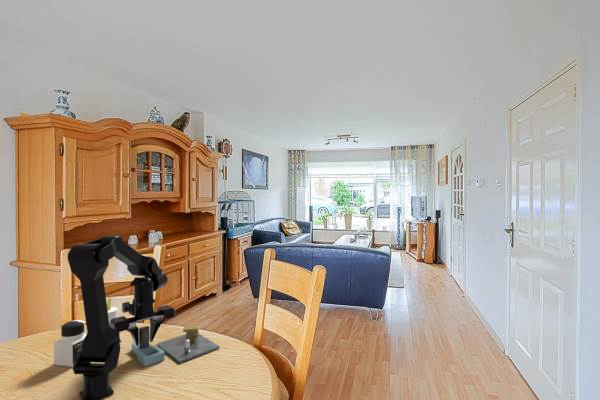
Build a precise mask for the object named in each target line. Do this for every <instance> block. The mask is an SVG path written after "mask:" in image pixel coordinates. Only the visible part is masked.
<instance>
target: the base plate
mask: <svg viewBox="0 0 600 400" xmlns="http://www.w3.org/2000/svg"><path fill="white" fill-rule="evenodd" d="M199 329H200V324H199V322H187V323H186V325H184V327H183V328H182V332H183V333H184V334H183V335H179V336H175V337H173V338H170V339H166V340H164V341H160V342H158V343H156V346H158V347H159V348H160V349H162V350H163V351H164V352H165V355H168V357H170V358H171V359H172V360H174V361H175V362H177V363H178V364H181V365H182V364H183V363H185V362H188V361H190V360H193V359H195V358H199V357H201V356H203V355H207V354H209V353H211V352H213V351H216V350H219V349H220V345H219V344H217V343H215V342H213V341H212V340H210V339H208V338H207V337H205V336H203V335H202V334H200V333H199ZM185 333H186V334H185ZM186 339H190V352H189V353H185V340H186Z"/></svg>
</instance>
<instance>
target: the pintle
mask: <svg viewBox="0 0 600 400" xmlns="http://www.w3.org/2000/svg"><path fill="white" fill-rule="evenodd" d="M189 352H190V339H186V340H185V353H189Z"/></svg>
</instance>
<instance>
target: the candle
mask: <svg viewBox="0 0 600 400" xmlns="http://www.w3.org/2000/svg"><path fill="white" fill-rule="evenodd" d="M106 303H107V310H108V318H109V325H110V321H111V319H113V318H117V317H119V308H118V307H115V306H112V299H111V297H108V299H107V302H106Z"/></svg>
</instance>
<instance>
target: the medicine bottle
mask: <svg viewBox="0 0 600 400" xmlns="http://www.w3.org/2000/svg"><path fill="white" fill-rule="evenodd" d="M86 335H87V333H86V321H85V320H80V319H76V320H70V321H67V322H65V323H63V324H62V325H61V338H60V339H57V340H56V341H54V342H53V365H55V366H62V367H67V368H73V366H74V364H75V362H76V360H77V359H78V357H79V355H80V353H81V351H82V342H83V340H84V338H85V336H86Z"/></svg>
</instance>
